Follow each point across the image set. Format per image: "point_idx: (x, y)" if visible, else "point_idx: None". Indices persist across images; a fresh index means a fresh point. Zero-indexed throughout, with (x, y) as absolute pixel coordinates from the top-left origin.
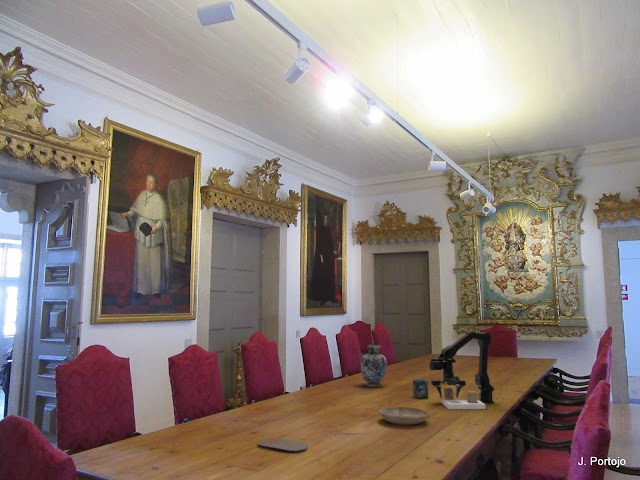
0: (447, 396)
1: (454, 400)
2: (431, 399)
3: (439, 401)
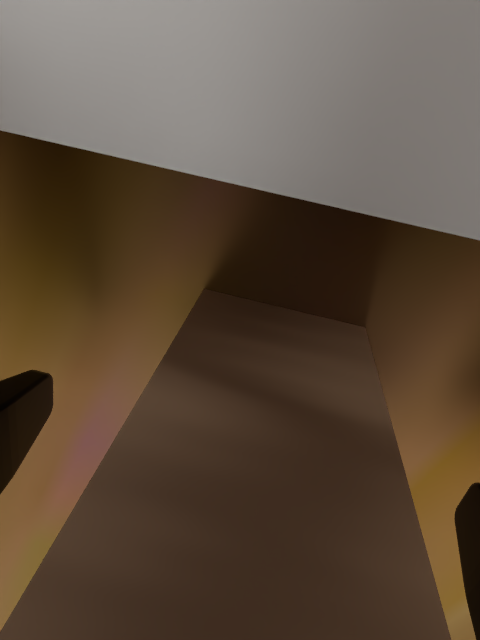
0: (356, 423)
1: (277, 51)
2: None
3: None
